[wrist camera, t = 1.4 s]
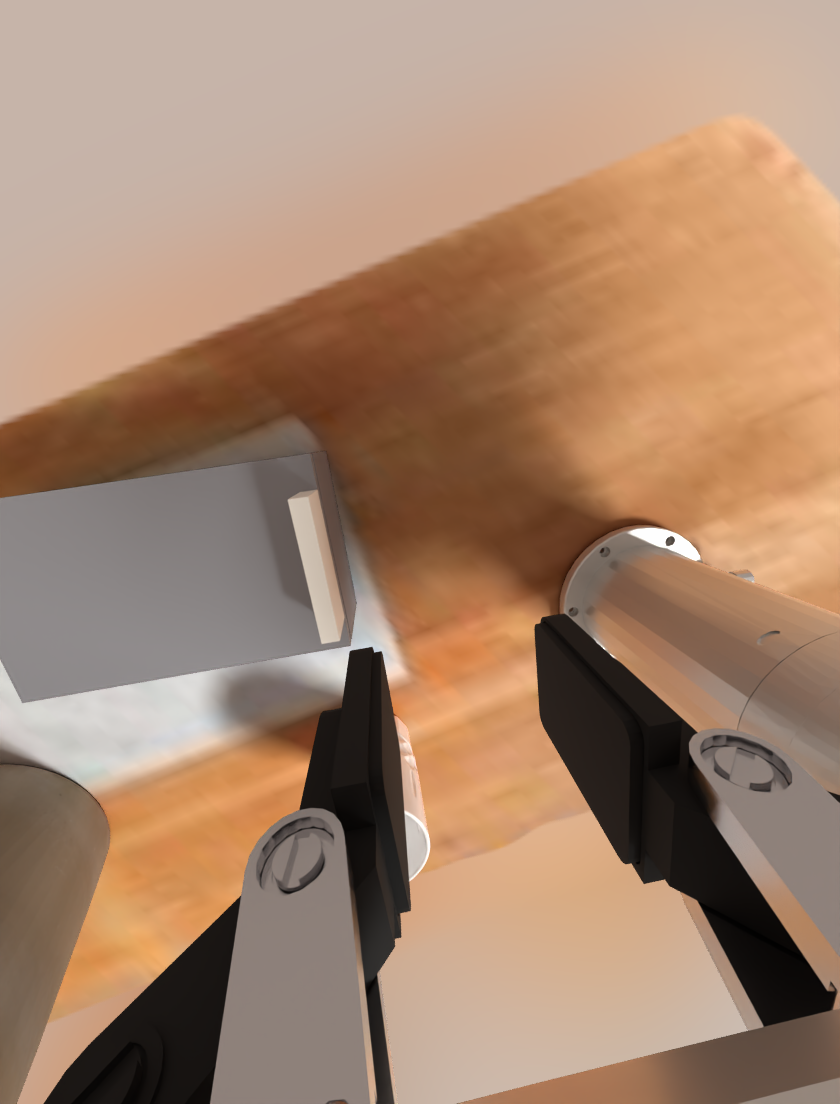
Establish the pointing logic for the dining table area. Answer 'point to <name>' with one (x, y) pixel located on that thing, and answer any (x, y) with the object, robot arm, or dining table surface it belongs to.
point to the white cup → (412, 805)
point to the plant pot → (40, 902)
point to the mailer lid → (166, 577)
